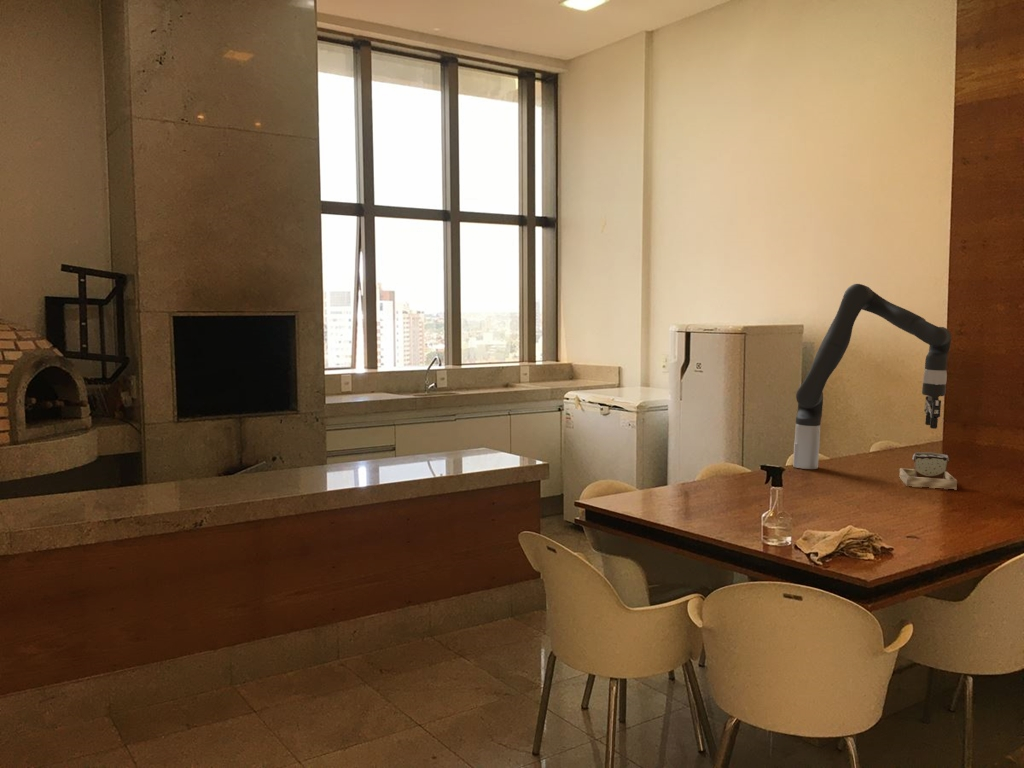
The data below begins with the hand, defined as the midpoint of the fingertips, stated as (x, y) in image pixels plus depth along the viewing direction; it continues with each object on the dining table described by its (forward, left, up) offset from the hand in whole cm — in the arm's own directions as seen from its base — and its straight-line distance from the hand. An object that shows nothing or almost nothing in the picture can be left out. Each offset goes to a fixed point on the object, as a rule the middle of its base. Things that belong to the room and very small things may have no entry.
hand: (931, 426), depth 293 cm
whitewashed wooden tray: (0, 0, -21) cm, 21 cm away
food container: (0, +1, -20) cm, 20 cm away
